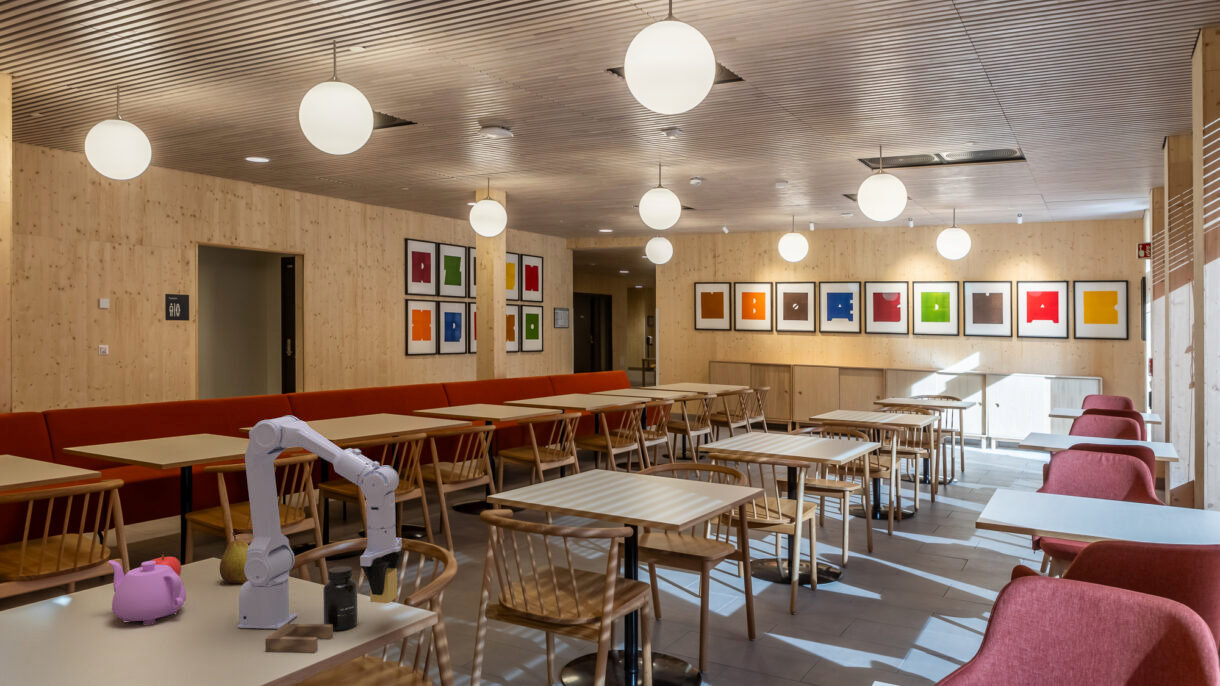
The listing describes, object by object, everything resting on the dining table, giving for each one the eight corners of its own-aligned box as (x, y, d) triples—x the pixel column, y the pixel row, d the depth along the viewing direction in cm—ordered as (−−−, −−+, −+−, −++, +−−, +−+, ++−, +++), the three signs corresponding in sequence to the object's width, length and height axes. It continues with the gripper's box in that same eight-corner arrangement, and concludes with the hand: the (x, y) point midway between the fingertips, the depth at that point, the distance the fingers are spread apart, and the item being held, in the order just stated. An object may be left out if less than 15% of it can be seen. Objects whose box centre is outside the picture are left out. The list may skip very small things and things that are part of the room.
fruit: (257, 584, 200) (256, 536, 199) (217, 588, 197) (215, 539, 197) (262, 574, 208) (260, 527, 208) (223, 577, 205) (222, 530, 205)
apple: (137, 591, 196) (136, 558, 196) (160, 580, 204) (160, 549, 204) (166, 592, 195) (165, 559, 194) (189, 582, 202) (188, 550, 202)
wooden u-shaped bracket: (265, 651, 158) (265, 638, 157) (286, 635, 165) (285, 623, 165) (314, 652, 156) (314, 639, 156) (333, 636, 164) (332, 624, 164)
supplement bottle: (347, 632, 166) (346, 575, 166) (317, 630, 168) (315, 573, 168) (364, 620, 173) (362, 565, 173) (335, 619, 175) (333, 563, 174)
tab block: (370, 602, 167) (369, 573, 167) (379, 595, 171) (379, 567, 171) (388, 603, 166) (387, 574, 166) (397, 596, 170) (396, 568, 170)
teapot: (82, 623, 174) (81, 567, 174) (138, 602, 188) (136, 550, 188) (156, 632, 169) (154, 574, 168) (208, 609, 182) (206, 555, 182)
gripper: (382, 535, 160) (384, 603, 161) (414, 518, 175) (415, 580, 175) (350, 534, 162) (351, 601, 162) (384, 517, 176) (385, 579, 176)
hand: (382, 590), depth 169 cm, fingers closed on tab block, 4 cm apart
